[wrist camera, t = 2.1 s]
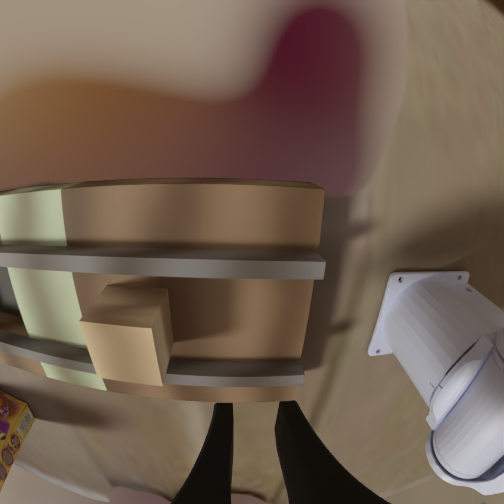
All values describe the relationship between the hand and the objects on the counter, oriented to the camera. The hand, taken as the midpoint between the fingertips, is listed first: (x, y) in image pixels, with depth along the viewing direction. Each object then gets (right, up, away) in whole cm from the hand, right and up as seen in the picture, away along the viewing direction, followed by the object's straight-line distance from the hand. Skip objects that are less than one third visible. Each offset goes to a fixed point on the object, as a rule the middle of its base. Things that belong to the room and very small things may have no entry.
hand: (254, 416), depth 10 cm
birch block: (-7, +3, +6) cm, 10 cm away
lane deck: (-13, +4, +9) cm, 16 cm away
